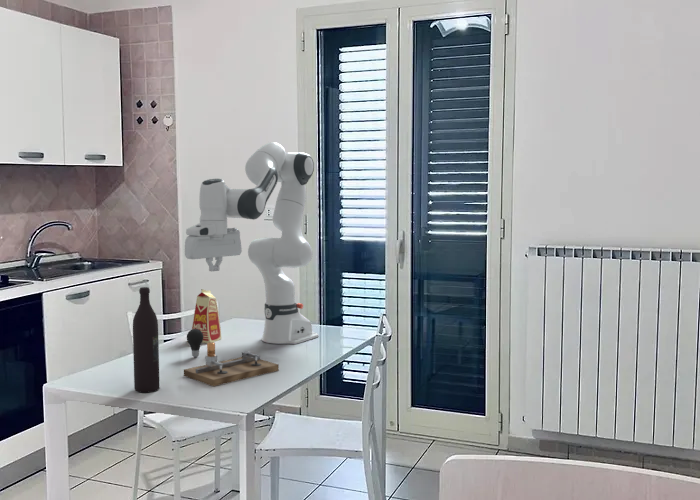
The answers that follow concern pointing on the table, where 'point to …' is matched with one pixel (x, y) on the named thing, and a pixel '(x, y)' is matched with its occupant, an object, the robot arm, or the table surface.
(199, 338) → the black light bulb
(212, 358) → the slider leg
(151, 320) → the wine bottle
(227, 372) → the brown wooden board
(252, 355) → the bar
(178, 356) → the table surface
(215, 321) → the milk carton
